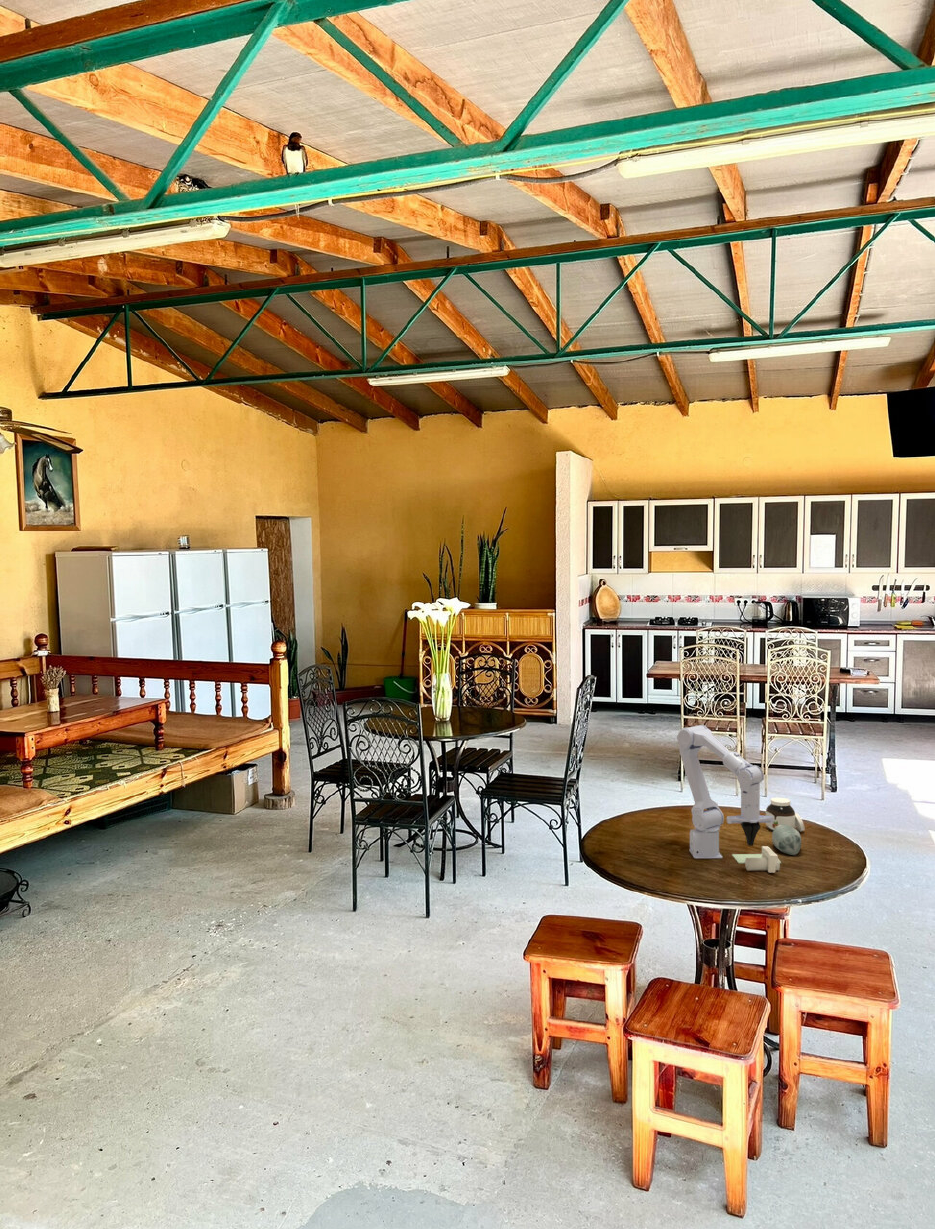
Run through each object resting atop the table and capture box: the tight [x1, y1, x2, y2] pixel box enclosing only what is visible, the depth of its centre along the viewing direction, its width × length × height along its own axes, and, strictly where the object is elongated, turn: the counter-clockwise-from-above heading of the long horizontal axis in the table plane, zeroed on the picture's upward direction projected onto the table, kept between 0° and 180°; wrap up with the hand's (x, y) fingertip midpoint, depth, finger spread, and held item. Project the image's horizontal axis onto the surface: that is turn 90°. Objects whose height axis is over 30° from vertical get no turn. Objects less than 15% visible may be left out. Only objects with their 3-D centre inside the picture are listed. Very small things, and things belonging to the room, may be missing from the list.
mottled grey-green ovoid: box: [771, 825, 802, 856], centre depth 300 cm, size 14×10×10 cm
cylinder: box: [744, 858, 781, 872], centre depth 282 cm, size 10×4×4 cm, turn 89°
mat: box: [731, 853, 782, 864], centre depth 292 cm, size 14×8×1 cm, turn 89°
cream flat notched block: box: [761, 845, 779, 873], centre depth 281 cm, size 2×9×6 cm, turn 179°
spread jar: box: [765, 796, 806, 833], centre depth 320 cm, size 12×11×12 cm
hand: (750, 844), depth 282 cm, fingers closed
